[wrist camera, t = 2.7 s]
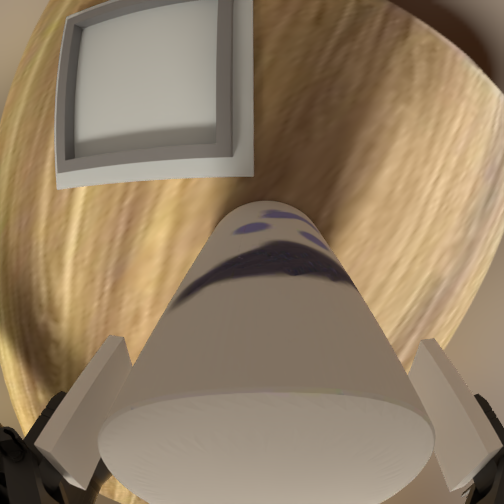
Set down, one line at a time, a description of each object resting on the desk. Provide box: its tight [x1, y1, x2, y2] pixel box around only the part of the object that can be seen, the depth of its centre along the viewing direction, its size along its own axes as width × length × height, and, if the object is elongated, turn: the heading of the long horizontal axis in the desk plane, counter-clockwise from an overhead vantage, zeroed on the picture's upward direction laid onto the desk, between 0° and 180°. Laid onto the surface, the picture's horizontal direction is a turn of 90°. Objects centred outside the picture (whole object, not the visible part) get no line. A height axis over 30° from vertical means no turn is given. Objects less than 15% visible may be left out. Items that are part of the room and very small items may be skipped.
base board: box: [54, 0, 254, 190], centre depth 19 cm, size 18×18×3 cm
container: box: [98, 201, 436, 504], centre depth 15 cm, size 10×10×20 cm
